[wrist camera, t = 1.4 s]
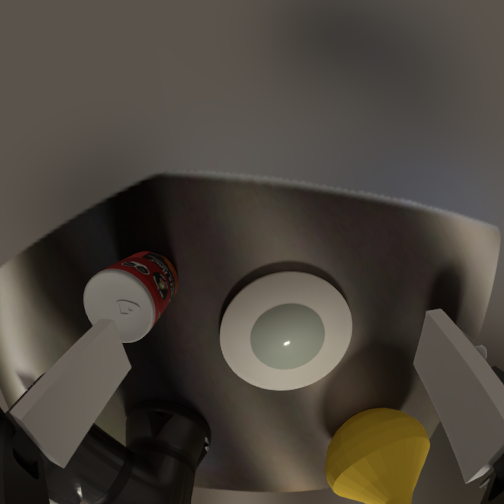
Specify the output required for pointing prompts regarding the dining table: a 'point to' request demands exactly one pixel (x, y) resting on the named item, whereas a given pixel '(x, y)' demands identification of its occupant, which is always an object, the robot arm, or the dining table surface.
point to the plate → (285, 330)
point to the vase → (377, 457)
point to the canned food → (131, 293)
